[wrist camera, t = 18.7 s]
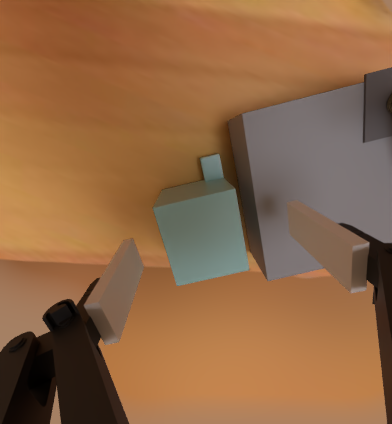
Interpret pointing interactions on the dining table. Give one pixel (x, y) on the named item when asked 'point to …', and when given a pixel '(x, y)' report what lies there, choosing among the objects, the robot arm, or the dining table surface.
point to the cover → (202, 226)
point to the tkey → (390, 104)
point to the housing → (315, 168)
